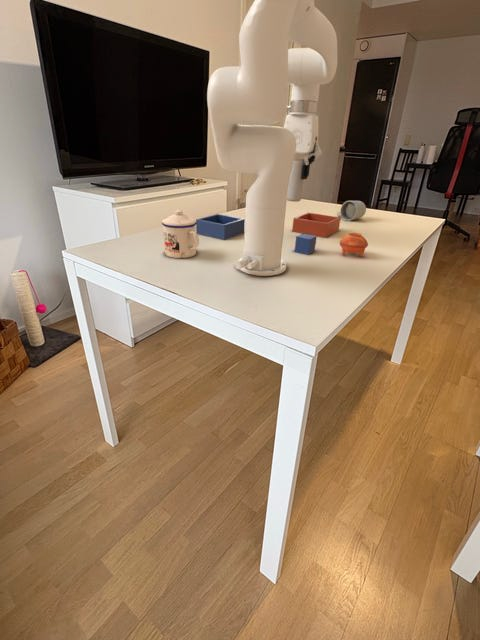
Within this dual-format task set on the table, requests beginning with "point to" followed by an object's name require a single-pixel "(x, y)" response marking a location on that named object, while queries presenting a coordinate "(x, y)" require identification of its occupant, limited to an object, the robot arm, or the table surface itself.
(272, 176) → the robot arm
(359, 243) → the pot
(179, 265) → the table surface
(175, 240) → the teacup with lid
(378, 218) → the table surface
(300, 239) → the blue block
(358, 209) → the ceramic mug
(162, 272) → the table surface
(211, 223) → the blue bin
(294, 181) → the beverage can
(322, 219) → the terracotta bin
